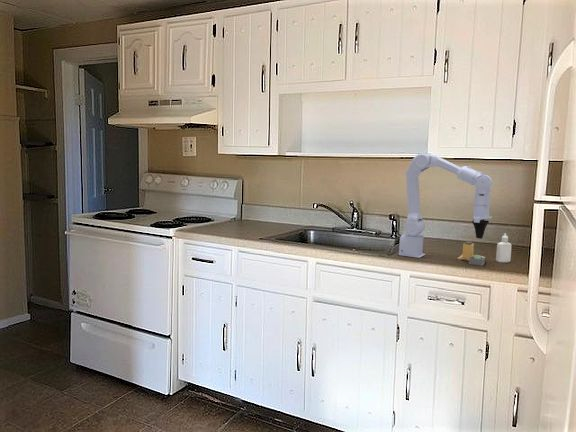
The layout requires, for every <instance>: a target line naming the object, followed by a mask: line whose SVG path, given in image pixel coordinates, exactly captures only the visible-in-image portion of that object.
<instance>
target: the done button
mask: <svg viewBox="0 0 576 432" xmlns="http://www.w3.org/2000/svg"><path fill="white" fill-rule="evenodd" d="M473 255H474V258H475V259H481V256H482V255H480V254H473Z"/></svg>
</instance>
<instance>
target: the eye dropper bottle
mask: <svg viewBox="0 0 576 432" xmlns="http://www.w3.org/2000/svg"><path fill="white" fill-rule="evenodd" d="M495 254H496V255H495V261H496V262H497V263H500V264H501V263H503V264H504V263H505V264H506V263H510V262H511V258H512V257H511V256H512V243H510V242H509V236H508V235H507V233H505V232H504V234H503V235H502V236H501V241H500V242H497V245H496V253H495Z"/></svg>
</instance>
